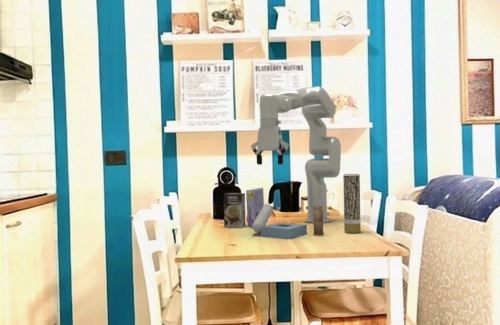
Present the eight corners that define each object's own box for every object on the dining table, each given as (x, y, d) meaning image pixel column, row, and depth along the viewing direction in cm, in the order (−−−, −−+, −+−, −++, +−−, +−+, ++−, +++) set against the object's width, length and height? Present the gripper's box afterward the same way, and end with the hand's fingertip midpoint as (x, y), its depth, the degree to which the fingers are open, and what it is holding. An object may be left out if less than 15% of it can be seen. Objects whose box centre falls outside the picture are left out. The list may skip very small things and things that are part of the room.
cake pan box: (256, 221, 237) (255, 187, 236) (265, 221, 235) (265, 187, 235) (246, 227, 218) (245, 190, 218) (256, 227, 217) (255, 190, 216)
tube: (265, 226, 192) (275, 207, 215) (253, 220, 192) (265, 201, 216) (259, 236, 193) (269, 216, 217) (248, 230, 194) (260, 211, 217)
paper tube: (347, 230, 202) (346, 173, 202) (362, 231, 199) (361, 173, 199) (342, 233, 197) (341, 174, 196) (357, 234, 193) (356, 174, 193)
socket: (279, 231, 204) (279, 222, 204) (306, 233, 196) (306, 224, 196) (261, 236, 193) (260, 226, 193) (289, 239, 185) (289, 229, 185)
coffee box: (223, 227, 217) (223, 193, 217) (227, 225, 224) (226, 192, 223) (242, 228, 215) (241, 193, 215) (245, 226, 221) (245, 192, 221)
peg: (316, 233, 197) (315, 205, 197) (324, 234, 194) (324, 205, 194) (311, 234, 194) (311, 206, 193) (320, 235, 191) (319, 206, 191)
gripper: (291, 123, 193) (292, 164, 193) (255, 125, 202) (256, 164, 202) (284, 122, 187) (284, 164, 187) (246, 124, 195) (247, 164, 195)
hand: (269, 164), depth 194 cm, fingers open, 9 cm apart
